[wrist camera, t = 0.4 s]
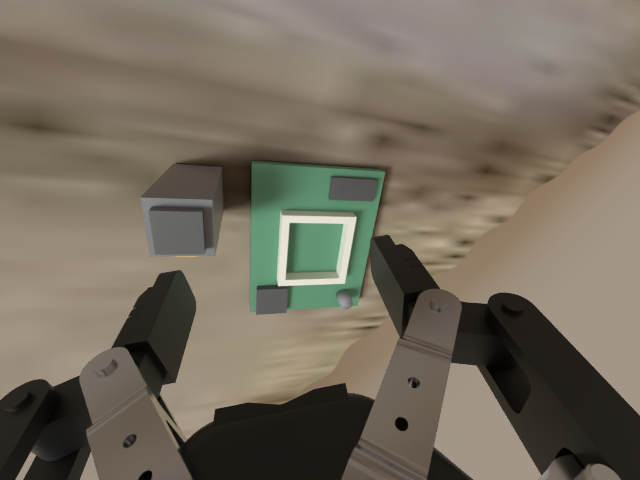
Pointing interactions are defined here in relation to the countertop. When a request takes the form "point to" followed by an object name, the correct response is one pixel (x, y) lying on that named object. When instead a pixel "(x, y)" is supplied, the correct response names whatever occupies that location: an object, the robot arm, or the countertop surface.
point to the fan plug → (184, 211)
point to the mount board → (310, 234)
